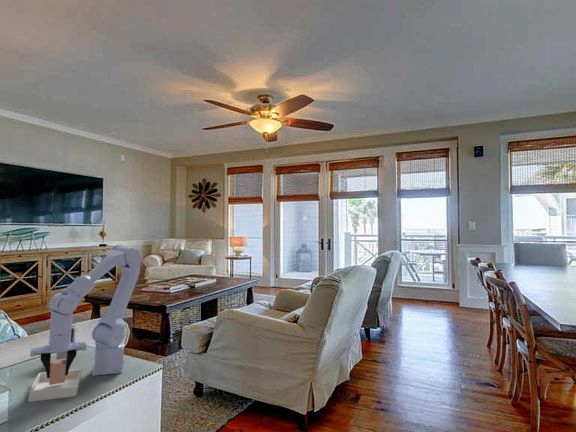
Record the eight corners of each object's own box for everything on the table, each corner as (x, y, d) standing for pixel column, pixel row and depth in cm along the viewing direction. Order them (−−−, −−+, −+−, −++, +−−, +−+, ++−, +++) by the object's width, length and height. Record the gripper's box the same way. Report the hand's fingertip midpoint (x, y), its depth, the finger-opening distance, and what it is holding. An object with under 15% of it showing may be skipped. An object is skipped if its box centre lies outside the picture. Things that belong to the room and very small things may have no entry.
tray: (81, 377, 117) (81, 368, 117) (76, 396, 106) (76, 386, 106) (38, 382, 112) (38, 372, 112) (28, 402, 102) (28, 391, 101)
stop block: (64, 376, 112) (66, 358, 112) (64, 382, 109) (65, 363, 109) (49, 379, 110) (51, 360, 110) (49, 384, 107) (50, 365, 107)
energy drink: (65, 363, 126) (67, 330, 126) (52, 361, 127) (54, 328, 127) (76, 357, 131) (79, 326, 131) (64, 355, 132) (67, 324, 132)
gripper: (86, 325, 116) (83, 366, 117) (33, 330, 109) (30, 373, 109) (87, 333, 110) (84, 375, 111) (30, 338, 103) (27, 384, 103)
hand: (57, 375), depth 109 cm, fingers closed on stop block, 4 cm apart
